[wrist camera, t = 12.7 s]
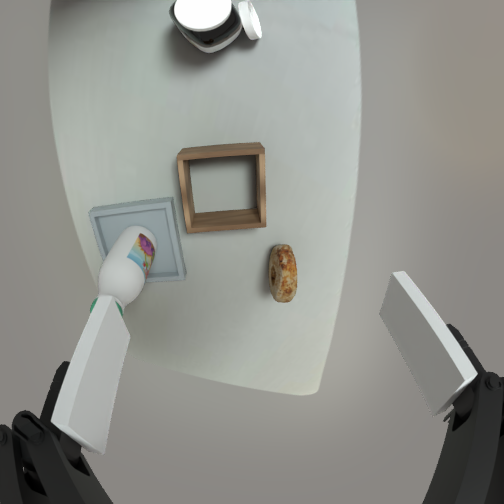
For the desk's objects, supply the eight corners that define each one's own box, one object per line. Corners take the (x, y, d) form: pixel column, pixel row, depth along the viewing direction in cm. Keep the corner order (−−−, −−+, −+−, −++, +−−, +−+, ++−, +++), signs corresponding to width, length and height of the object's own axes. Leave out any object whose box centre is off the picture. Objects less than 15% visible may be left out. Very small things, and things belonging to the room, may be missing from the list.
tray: (93, 207, 46) (88, 212, 44) (172, 196, 47) (170, 201, 45) (114, 277, 54) (111, 284, 52) (186, 272, 55) (185, 279, 53)
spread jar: (169, 23, 31) (152, 1, 21) (227, -15, 28) (228, -45, 18) (215, 70, 36) (212, 61, 27) (273, 33, 34) (288, 13, 24)
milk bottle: (121, 257, 51) (86, 331, 34) (118, 222, 47) (73, 290, 30) (158, 261, 52) (134, 339, 35) (158, 225, 48) (127, 298, 31)
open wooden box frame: (182, 148, 43) (176, 155, 37) (259, 142, 43) (264, 148, 38) (191, 217, 49) (187, 233, 44) (261, 212, 50) (266, 227, 45)
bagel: (270, 235, 52) (279, 265, 44) (289, 236, 53) (302, 265, 44) (265, 280, 58) (272, 313, 49) (282, 280, 58) (292, 313, 50)
